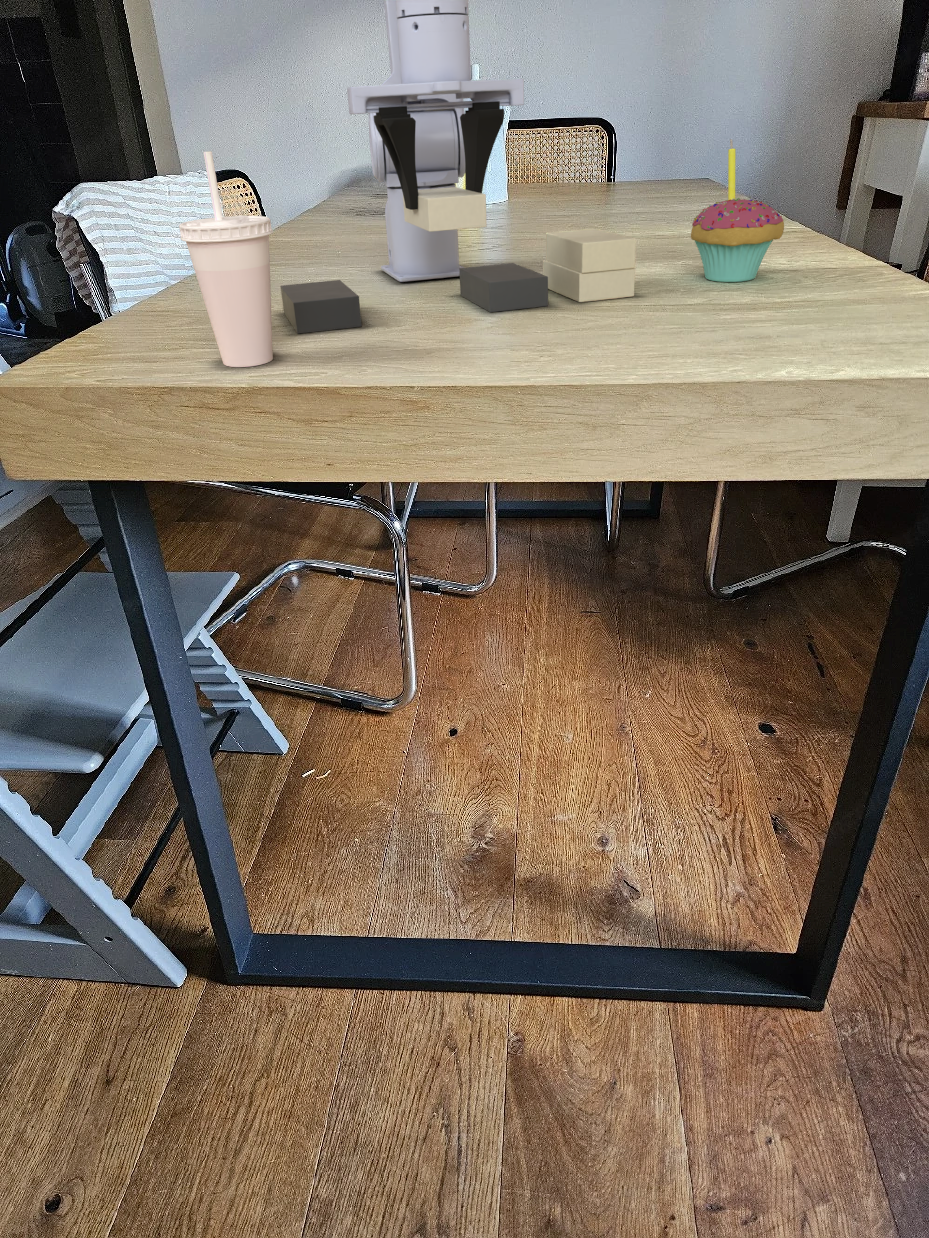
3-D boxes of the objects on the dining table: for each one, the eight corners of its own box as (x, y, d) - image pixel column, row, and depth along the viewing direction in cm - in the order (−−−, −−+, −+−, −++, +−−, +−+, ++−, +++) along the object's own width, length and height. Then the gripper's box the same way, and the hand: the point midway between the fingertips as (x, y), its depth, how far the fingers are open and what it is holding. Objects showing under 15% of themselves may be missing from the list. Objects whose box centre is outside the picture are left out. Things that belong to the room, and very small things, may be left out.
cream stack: (542, 287, 88) (542, 232, 85) (593, 281, 89) (595, 227, 86) (579, 303, 80) (581, 243, 77) (635, 296, 81) (638, 238, 79)
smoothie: (186, 367, 66) (143, 155, 59) (243, 347, 71) (209, 149, 63) (253, 375, 63) (217, 153, 56) (308, 353, 68) (280, 147, 61)
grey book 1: (284, 314, 82) (280, 285, 80) (343, 307, 83) (339, 279, 82) (297, 333, 74) (293, 302, 73) (362, 326, 75) (358, 295, 74)
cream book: (404, 221, 81) (402, 191, 80) (457, 217, 82) (455, 187, 81) (429, 231, 73) (427, 198, 72) (486, 227, 75) (485, 194, 73)
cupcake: (669, 277, 89) (678, 141, 83) (737, 267, 92) (751, 136, 86) (725, 289, 82) (739, 143, 76) (796, 279, 85) (815, 137, 79)
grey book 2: (460, 295, 86) (459, 268, 84) (514, 290, 87) (513, 262, 86) (490, 312, 78) (489, 282, 77) (548, 306, 79) (548, 276, 78)
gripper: (351, 16, 65) (370, 217, 72) (536, 10, 68) (537, 203, 75) (336, 24, 71) (354, 209, 78) (506, 19, 74) (509, 197, 81)
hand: (442, 206), depth 77 cm, fingers closed on cream book, 5 cm apart
